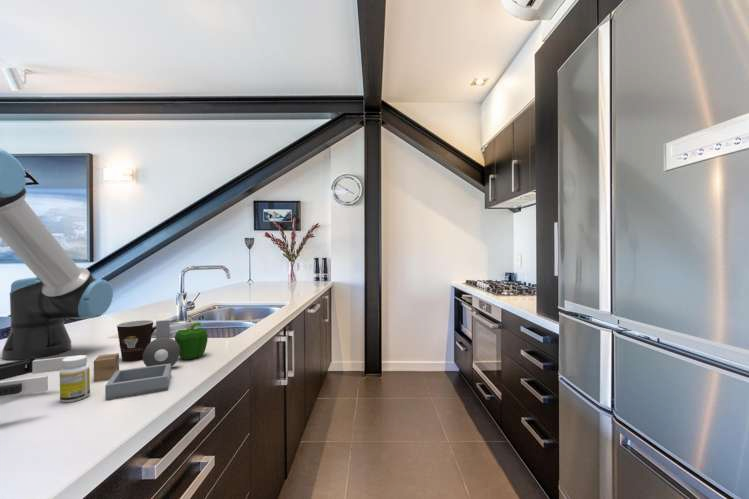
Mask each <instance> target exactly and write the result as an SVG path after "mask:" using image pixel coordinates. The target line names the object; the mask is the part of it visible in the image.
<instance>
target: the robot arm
mask: <svg viewBox="0 0 749 499" xmlns="http://www.w3.org/2000/svg"><path fill="white" fill-rule="evenodd" d="M26 176H27V173H26V170H25V168H24V166H23V165H22V163H21V162H20V161H19V160H18V159H17V158H16V157H15V156H14V155H12V154H11V153H10V152H8V151H6V150H5V149H2V148H0V239H2V241H4V243H5V244H6V245H7V246H8V247H9V248H10V250H12V251H13V253H14V254H15V255H16V256H17V257H18V258H19V259H20V260H21V261H22V262H23V263H24V265H25V266H27V268H28V269H29V270H30V271H31V273H33V274H34V275H35V277H29V278H28V277H27V278H21V279H16V280H14V281H12V283H11V284H10V293H9V301H10V302H9V305H10V306H9V308H10V331H9V334H8V336H7V338H6V341H5V344H4V346H3V348H2V353H1V354H2V356H1V359H2V360H8V361H10V362H4V363H0V399H1V398H9V397H16V396H22V395H30V394H37V393H44V392H47V391H49V382H48V381H49V375H40V376H34V377H25V378H18V379H17V378H16V377H20V376H23V375H28V374H32V375H35V374H43V373H51V372H52V373H53V372H60V370H61V369H62V368H63V367H62V360H63V359H64V358H67V357H71V356H72V355H70V356H69V355H68V356H60V357H53V358H44V359H38V358H43V357H47V356H52V355H56V354H60V353H63V352H66V351H69V350H71V349H72V339H71V337H70V335H69V333H68V331H67V329H66V326H65V321H64V319H69V320H70V319H71V320H72V319H76V320H77V319H79V320H86V319H94V318H99V317H101V316H102V315H105V313H106V312H107V311H108V309H109V308H110V306H111V305H112V302H113V297H114V291H113V290H114V289H113V287H112V285H111V283H110V282H109V281H108V280H105V279H102V278H98V279H97V278H95V277H94V275H93V274H92V273H91V272H90V270H88V269H87V268H85V267H78V265H77V264H76V263H75V262H74V260H73V259H72V257H70V255H69V254H68V253H67V251H66V250H65V249H64V248H63V246H62V245H61V244H60V243H59V241H58V240H57V238H55V236H54V234H52V233H51V232H50V230H49V229H48V227H47V226H46V225H45V224H44V222H42V220H41V219H40V218H39V216H38V215H37V213H35V211H34V209H32V207H31V206H30V205H29V204H28V203H27V201H26V200H25V198H26V196H27V194H28V190H26V188H25V187H26V185H27V179H25V177H26ZM36 358H37V359H36ZM12 378H16V379H12ZM8 379H10V380H8Z"/></svg>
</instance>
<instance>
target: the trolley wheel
mask: <svg viewBox="0 0 749 499" xmlns="http://www.w3.org/2000/svg"><path fill="white" fill-rule="evenodd" d="M170 320H171V319H164V320H163V319H162V320H156V323H155V327H156V329H155V332H156V333H155V334H156V335H155V339H154V340H151V342H150V343H149V344H148V346H147V347H146V349H145V350H144V353H143V360H142V361H143V364H144V365H145V367H148V366H155V365H163V364H170V363H171V368H172V367H174V365H175V364H176V363H178V359H179V358H180V356H179V353H180V348H179V345H178V343H177V342H176V341H175V339H173V338H171V337H170V336H171V334H170V333H171V332H170V331H171V329H170V326H171V325H170V324H171V322H170Z"/></svg>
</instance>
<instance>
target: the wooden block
mask: <svg viewBox="0 0 749 499" xmlns="http://www.w3.org/2000/svg"><path fill="white" fill-rule="evenodd" d="M118 370H120V353H118V352H116V353H109V354H100V355H98V356H97V357H96V358H95V359H94V360H93V382H94V383H96V382H97V383H98V382H103V381H109V380H110V379H111V377H112V376H113V374H114V373H115V372H116V371H118Z"/></svg>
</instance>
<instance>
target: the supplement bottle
mask: <svg viewBox="0 0 749 499" xmlns="http://www.w3.org/2000/svg"><path fill="white" fill-rule="evenodd" d="M70 356H71V357H69V356H66V357H67V358H64V359H63V360H62V367H63V368H62V369H61V370H60V371H59V400H60V402H62V403H72V402H76V401H81V400H83V399H86V398H87V397H89V396H90V394H91V384H90V375H91V374H90V371H91V370H90V365H89V364H88V355H84V354H83V355H82V354H79V355H70Z"/></svg>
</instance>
